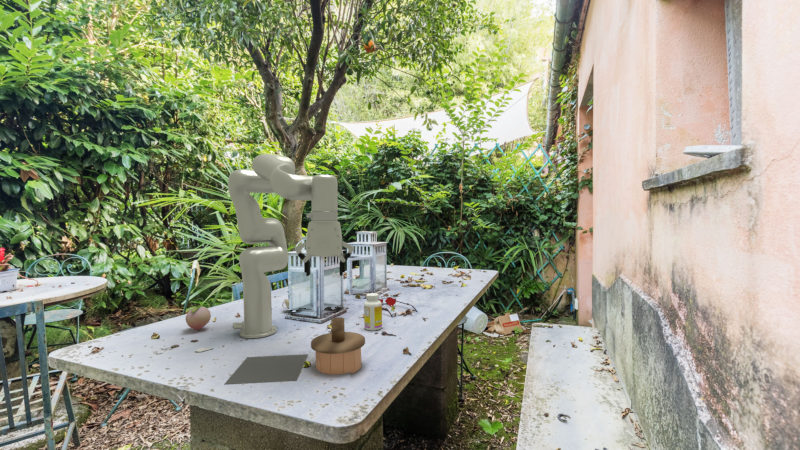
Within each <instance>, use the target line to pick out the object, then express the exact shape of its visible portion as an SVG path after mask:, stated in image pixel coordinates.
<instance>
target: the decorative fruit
mask: <svg viewBox="0 0 800 450" xmlns="http://www.w3.org/2000/svg"><path fill="white" fill-rule="evenodd" d="M211 317H212V314H211V311H210V310H209V309H208V308H207V307H205V306H203V305H199V304H198V303H196V306H194V307H192V308H191V309H189V311H188V312H187V313H186V316H185V323H186V324H187V326H188V327H189V328H190V329H192V330H195V331H200V330H201V329H202V328H204V327H205V326H207V324H208V323H210V320H211Z"/></svg>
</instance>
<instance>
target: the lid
mask: <svg viewBox="0 0 800 450" xmlns="http://www.w3.org/2000/svg"><path fill="white" fill-rule="evenodd" d="M330 320H331V321H330V322H331V325H330V326H331V327H330V328H331V332H329V333H328V332H327V333H325V334H319V336H316V337H314V338H313V339H311V341H310V348H311V349H312V350H313V351H314V352H315V353H316V352H320V353H326V354H339V353H346V352H351V351H354V350H357V349H359V348H361V349H362V348H363V347H365V344H366V338H365V335H363V334H361V333H357V332H351V331H346V329H345V317H340V316H339V317H337V316H336V317H331V319H330Z"/></svg>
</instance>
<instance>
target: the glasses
mask: <svg viewBox="0 0 800 450" xmlns="http://www.w3.org/2000/svg"><path fill="white" fill-rule="evenodd" d="M384 299H385V300H384ZM378 300H379V301H381V303H382V311H387V312H388V314H390V316H391V318H394V316H393V315H392V313H391V312H390V310H388V309H385V308H383V306H384V305H385V304H386V306H389V307H392V306H391V305H393V306H394V305H395V304H396V303H401V304H403V305H407V306H411V307H412V308H413V310H415V312H416V313H418V310H417V309H416V307H415V306H414V305H412V304H409V303H406V302H403V301H400V300H399V301H398V300H397V298H396V297H395V296H393V297H391V296H387V297H384V298H378ZM383 301H384V302H385V303H383Z"/></svg>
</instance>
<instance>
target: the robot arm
mask: <svg viewBox="0 0 800 450" xmlns="http://www.w3.org/2000/svg"><path fill="white" fill-rule="evenodd" d="M338 186H339V185H338V179H337V176H335V175H332V174H330V175H329V174H316V175H305V174H296V165H295V163H294V161H293V159H292V158H289V157H288V156H284V155H278V154H277V155H276V154H269V153H262V154H259V155H256V156H255V157H254V159H253V160H252V163H251V169H249V168H241V169H235V170H232V172H230V174H229V177H228V179H227V189H228V194H229V197H230V199H231V201H232V204H233V206H234V210H235V217H236V221H237V228H238V233H239V234H238V235H239V237H240V241H241V242H242V243H244V244H249V245H256V244H268V245H262V246H253V247H252V246H251V247H248V248H245V249H243V250H242V251H241V252H240V254H239V256H238V257H239V258H238V261H239V262H238V263H239V267H240V271H241V278H242V292H243V296H242V299H243V321H242V322H233V323H232V329H233V330H240V331H239V336H240V337H241V338H245V339H261V338H264V337H269V336H272V335H273V334H275V333H276V332H277V329H278V328H277V327H276V326H275V325H273V316H272V315H273V312H272V309H273V308H272V284H271V282H270V279H269V278H268V277H267V276H266V274H265V273H267V272H274V271H276V272H277V271H281V270H284V269H285V268H286V267H287V266H288V264H289V250H288V246H287V240H286V234H285V229H284V226H283V224H282V222H281V221H280V220H279V219H277V218H275V217H263V216H262V212H261V207H260V204H259V203H258V201H257V200H256V199H255V198H254V196H252V195H251V194H252V193H255V194H274V193H275V194H276V195H277V196H279V197H281V198H282V199H283V198H284V199H285V200H289V201H310V202H311V211H310V212H309V213H306V218H307V219H310V221H309V222H308V225H307V231H306V241H303V243H301V244H298V245H296V246H295V247H294V250H295V252H296V254H297V256H298V258H299V259H300V260H302V262H303V266H304V267H303V268H304V269H303V271H304V272H303V273H304V274H305V273H306V274H305V275H306V277H310V276H311V261H310V260H311V258H312V257H337V258H338V259H339V260H340V261H339V276H341V277H342V276H343V274H344V273H346V261H347V260H349V258H350V257H351V256H352V254H353V252H354V251H355V246H353V245H351V244H350V243H347V242H345V241H344V240H343V236H342V235H343V233H342V227H341V222H340V221H338V220H339V219H338V213H339V212H338V206H339V203H338V201H339V200H338V195H339V193H338V188H339V187H338ZM250 193H251V194H250ZM343 247H344V248H346V249H347V253H346V254H345V255H344V254H343ZM303 248H306V249H305V251H306V255H305V254H304V253H303V251H302V249H303Z"/></svg>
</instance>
